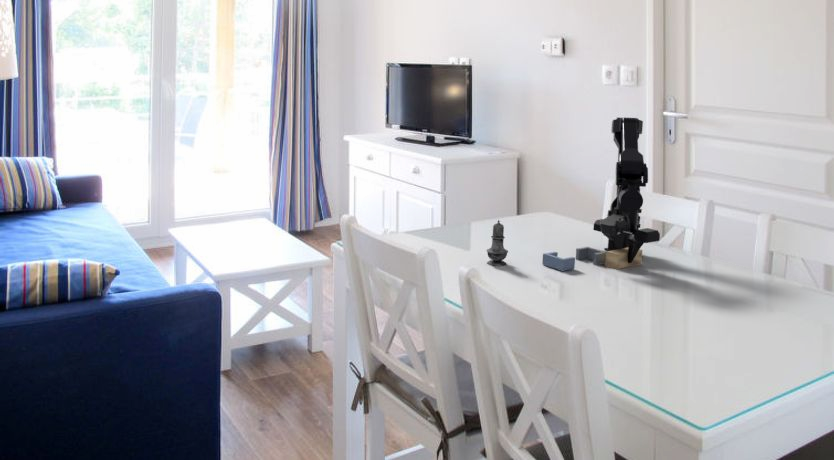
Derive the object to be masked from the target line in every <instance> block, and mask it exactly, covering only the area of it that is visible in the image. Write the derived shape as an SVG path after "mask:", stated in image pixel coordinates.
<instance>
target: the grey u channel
mask: <svg viewBox="0 0 834 460" xmlns="http://www.w3.org/2000/svg"><path fill="white" fill-rule="evenodd" d="M584 259H585V260H586V259H588V260H592V264H593V266H598V265H605V260H606V250H601V249H598V248H594V247H590V246H583V247H578V248H576V250H575V260H577V261H580V260H584Z"/></svg>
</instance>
